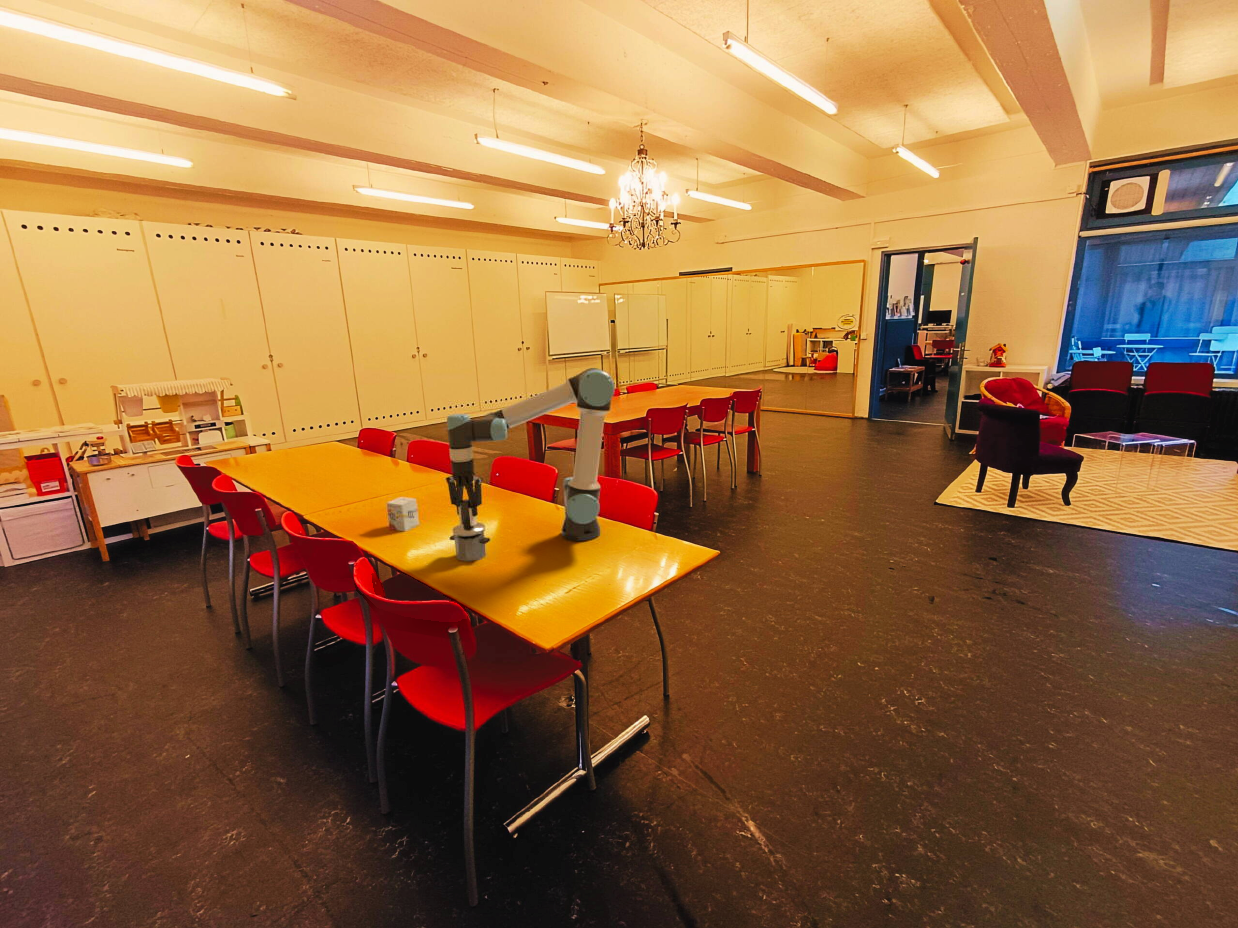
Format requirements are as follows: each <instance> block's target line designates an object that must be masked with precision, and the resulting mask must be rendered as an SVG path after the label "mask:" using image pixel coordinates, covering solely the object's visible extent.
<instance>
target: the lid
mask: <svg viewBox="0 0 1238 928" xmlns="http://www.w3.org/2000/svg"><path fill="white" fill-rule="evenodd" d="M470 507H471V506H470V502H469V498H465V499H463V500H462V501H461V508H462V517H463V525H460V524H458V525H456V526H454V527H453V528H452V534H453V535H456V536H460V537H468V536H474V535H478V534H480V533H482V532H484V533H485V531H486V525H485V524H484V523H481V522H477V524H475V525H473V526H471V525H470V515H469V508H470Z"/></svg>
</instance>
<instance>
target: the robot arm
mask: <svg viewBox="0 0 1238 928" xmlns="http://www.w3.org/2000/svg"><path fill="white" fill-rule="evenodd" d="M615 391H616V390H615V383H614V380H613V378H612V376H611V375H610V373H608V372H606V371H604V370H602V369H599V368H598V367H597V368H595V367H590V368H586V369H584V370H583V371H582V372H580V373H578V374H576V375H574V376H572V377H570V378H568V379H566V381H565V383H563V384H560V385H558V386H555V387H552V388H550V389H548V390H545V391H543V392H540V393H537V394H535V395H533V396H530V397H528V398H525V399H524V400H520V401H518V402H516V403H513V404H511V405H509V406H507V407H504V408H501V409H499V410H496V411H494V412H489V413H487V414H486V415H484V417H483V418H482V419H471V417H470V414H468V413H454V414H450V415H448V416H447V417H446V426H447V427H446V431H447V437H448V447H449V457H450V460H451V462H450V466H451V471H452V473H451V474H452V475H450V476H448V477H446V478H445V480H446V483H447V486H448V487H447V488H448V491H449V492H448V493H449V499H450V504H451V505H453V506H455V507H456V514H457V516H458V517H459V525H463V517H462V508H461V501H462V500H464V490H466V494H467V497H468V498H467V499H469V502H470V506H471V507H470V508H469V515H470V525H471V526H473V525H475V524H477V523H478V522H477V516H478V507H479V506H481V505H482V504H483V502H482V501H483V500H482V498H483V497H482V483H483V478H482V477H478V476H476V474H475V461H474V459H473V458H474V452H473V443H477V442H499V441H505V440H506V439H507V438H508V430H509V429H511V428H514V427H516V426H519V425H521V424H524V423H526V422H529V421H531V420H534V419H536V418H538V417H541V416H543V415H545V414H549V413H551V412H553V411H555V410H558V409H561V408H563V407H565V406H568V405H570V404H573V403H574V404H576V408H577V409H578V410H579V419H578V420H579V422H578V431H577V438H576V439H577V441H576V450H575V458H574V467H573V474H572V475H573V476H569V477H565V479H564V480H563V484H562V486H563V495H564V496H563V497H564V519H563V523H562V527H561V537H562V538H563V539H564V540H568V541H571V542H572V541H574V542H584V541H590V540H593V539H596V538H598V537H599V536H600V535H601V526H600V524H599V520H598V519H597V517H598V515H599V513H600V508H601V506H600V501H599V500H600V492H601V485H600V483H599V482H598V473H599V466H600V458H601V449H602V443H603V434H604V425H605V419H606V418H605V417H606V415H607V414H608V413H609V412H610V411H611V404H612V399H613V397H614V394H615Z"/></svg>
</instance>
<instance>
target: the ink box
mask: <svg viewBox="0 0 1238 928" xmlns="http://www.w3.org/2000/svg"><path fill="white" fill-rule="evenodd" d="M385 503H386V510H387V517H388V518H387V519H388V527H389V530H392V531H400V532H407V531H409V530H411V529H414V528H416V527H417V526H419V525H420V521H419V513H418V504H417V498H412V497H405V496H404V497H403V496H399V497H397V498H394V499H393V500H389V501H388V502H385Z"/></svg>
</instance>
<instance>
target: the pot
mask: <svg viewBox="0 0 1238 928" xmlns="http://www.w3.org/2000/svg"><path fill="white" fill-rule="evenodd" d="M449 540H450V541H454V545H455V546H454V547H455V554H456V555H455V556H456V559H457V560H458V561H460V562H465V563H467V562H476V561H480V560H482V559H483V558H485V557H486V554H487V553H486V552H487V551H486V550H487V549H486V544H487V543H489V542H490V541H491V538H490V537H486V536H485V531H484V532H482V533H480V534H478V535H474V536H468V537H460V536H456V535H454V534H453V535H451V536H449Z"/></svg>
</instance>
